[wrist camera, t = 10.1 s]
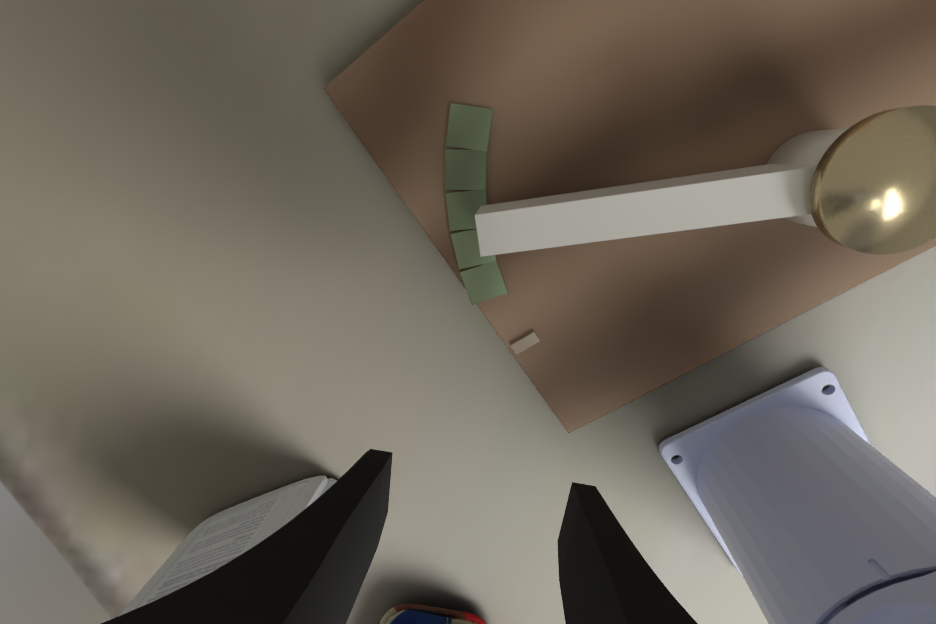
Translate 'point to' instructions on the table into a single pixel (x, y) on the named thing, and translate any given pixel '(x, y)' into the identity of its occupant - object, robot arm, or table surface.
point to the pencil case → (428, 615)
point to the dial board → (628, 162)
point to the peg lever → (757, 194)
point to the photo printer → (229, 536)
